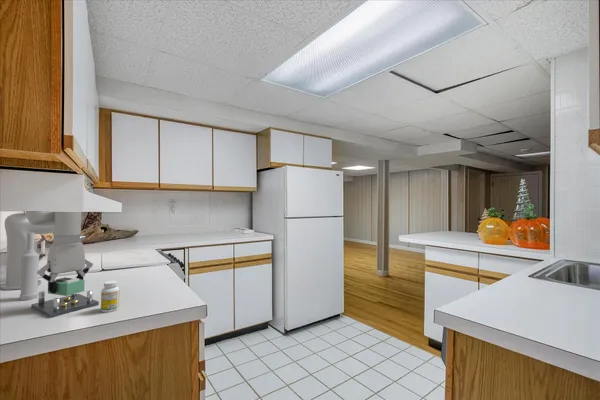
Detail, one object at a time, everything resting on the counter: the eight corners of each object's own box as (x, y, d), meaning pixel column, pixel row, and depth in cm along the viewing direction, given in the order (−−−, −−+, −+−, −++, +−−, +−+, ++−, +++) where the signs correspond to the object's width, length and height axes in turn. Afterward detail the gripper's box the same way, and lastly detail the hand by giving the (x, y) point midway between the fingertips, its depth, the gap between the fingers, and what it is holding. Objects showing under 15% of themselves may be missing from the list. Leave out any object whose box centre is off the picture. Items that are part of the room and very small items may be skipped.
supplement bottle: (112, 312, 97) (113, 284, 97) (96, 312, 97) (97, 284, 97) (122, 306, 103) (123, 280, 103) (107, 306, 103) (108, 279, 103)
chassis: (31, 307, 100) (31, 292, 100) (78, 296, 112) (78, 283, 112) (50, 317, 92) (50, 301, 92) (98, 304, 104) (99, 290, 104)
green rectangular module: (47, 293, 100) (48, 280, 101) (65, 288, 106) (66, 276, 106) (66, 295, 98) (67, 282, 98) (84, 290, 104) (84, 278, 104)
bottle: (40, 297, 110) (42, 232, 111) (22, 301, 106) (24, 234, 106) (35, 295, 113) (36, 232, 113) (17, 299, 109) (19, 233, 109)
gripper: (90, 237, 112) (89, 282, 112) (31, 241, 97) (30, 294, 97) (99, 238, 108) (98, 285, 108) (40, 243, 93) (38, 298, 93)
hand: (66, 289), depth 102 cm, fingers closed on green rectangular module, 7 cm apart
